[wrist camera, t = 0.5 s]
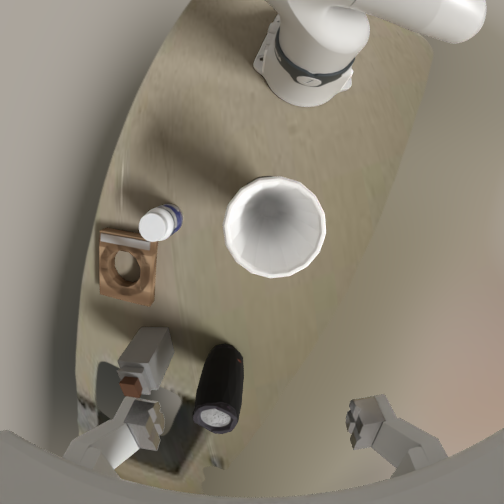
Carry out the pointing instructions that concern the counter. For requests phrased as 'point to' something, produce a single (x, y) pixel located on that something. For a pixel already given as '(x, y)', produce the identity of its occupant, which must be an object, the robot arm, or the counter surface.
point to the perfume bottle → (145, 361)
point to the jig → (146, 258)
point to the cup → (274, 226)
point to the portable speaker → (220, 390)
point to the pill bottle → (160, 222)
